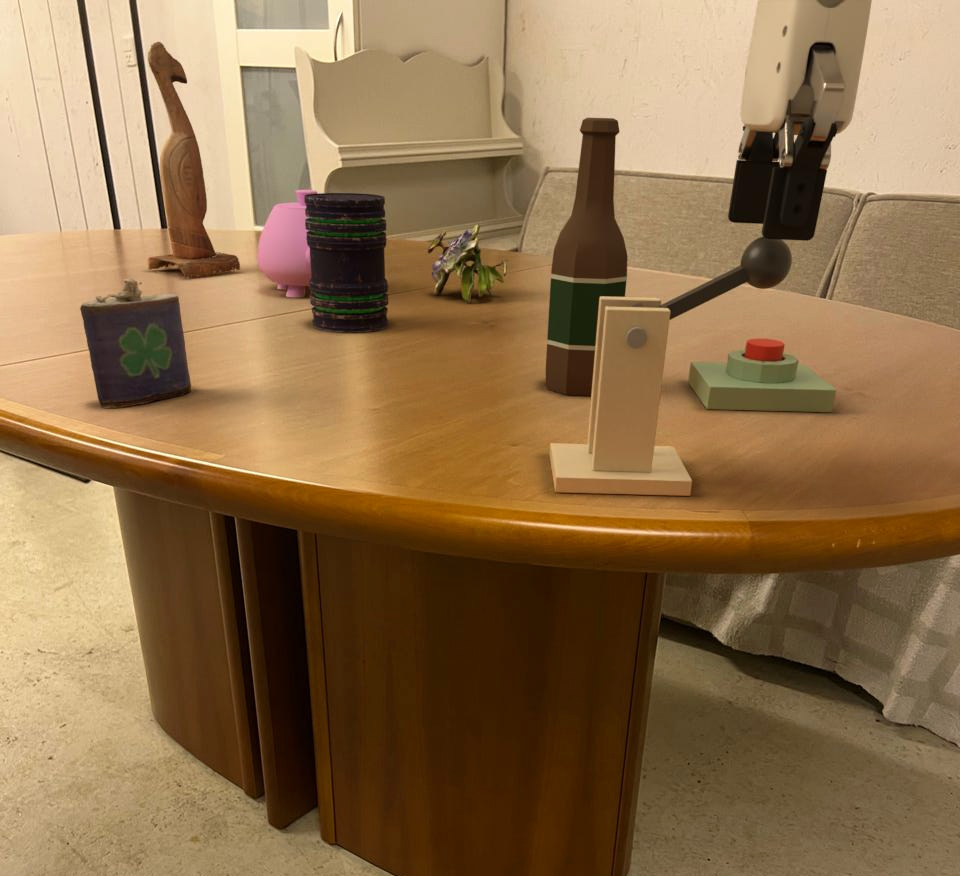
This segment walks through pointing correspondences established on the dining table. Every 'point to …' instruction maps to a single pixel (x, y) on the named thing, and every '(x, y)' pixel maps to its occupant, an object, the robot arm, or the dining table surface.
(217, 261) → the bird sculpture
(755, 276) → the lever
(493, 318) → the dining table surface
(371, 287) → the storage jar
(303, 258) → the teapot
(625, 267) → the beer bottle
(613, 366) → the bracket
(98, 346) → the flask
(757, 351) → the button
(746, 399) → the button box
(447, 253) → the passion flower
